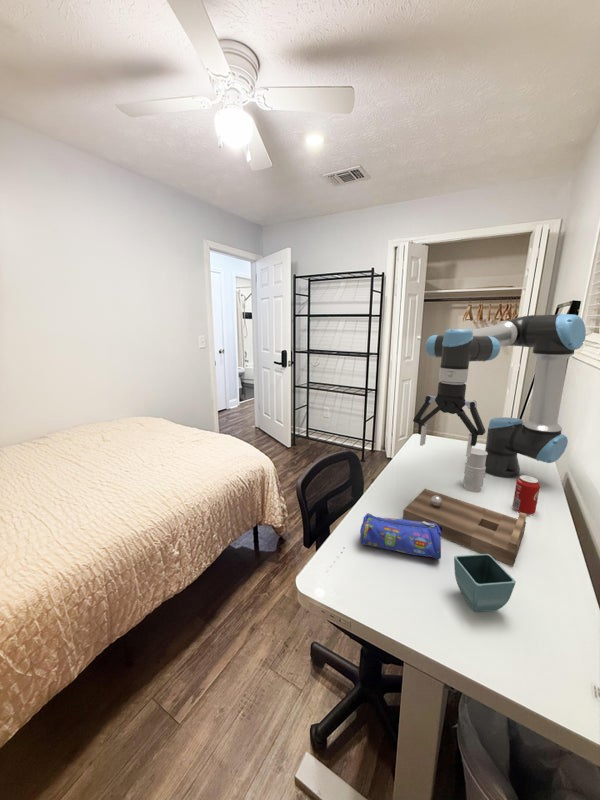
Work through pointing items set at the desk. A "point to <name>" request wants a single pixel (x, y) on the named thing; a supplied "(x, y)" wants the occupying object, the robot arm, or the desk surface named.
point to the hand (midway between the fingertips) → (444, 449)
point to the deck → (470, 525)
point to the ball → (436, 501)
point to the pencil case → (402, 535)
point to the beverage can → (526, 495)
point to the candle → (475, 470)
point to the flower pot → (483, 582)
